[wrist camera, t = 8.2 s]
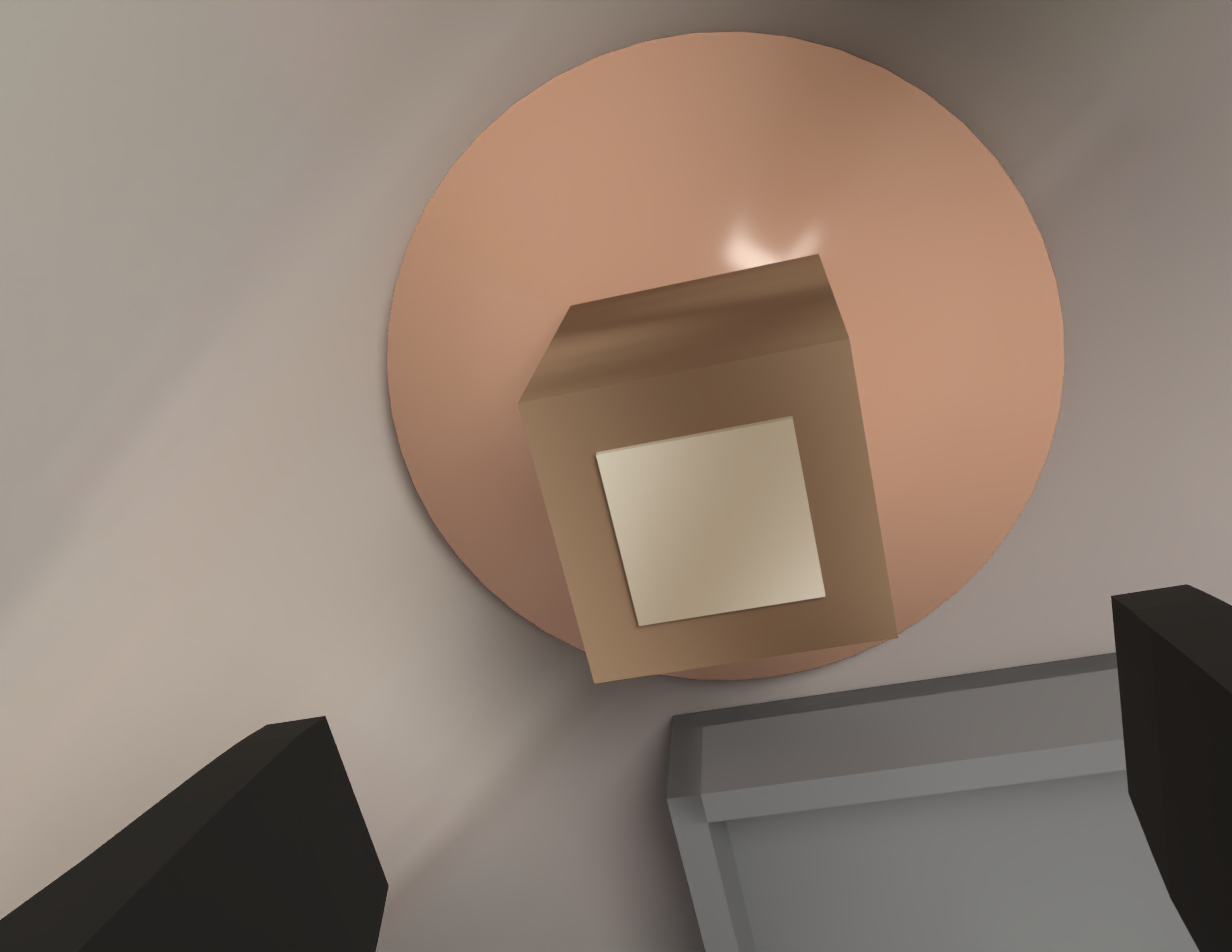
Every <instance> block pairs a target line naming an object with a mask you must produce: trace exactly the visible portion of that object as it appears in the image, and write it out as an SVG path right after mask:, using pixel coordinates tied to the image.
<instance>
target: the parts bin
mask: <svg viewBox="0 0 1232 952" xmlns="http://www.w3.org/2000/svg"><path fill="white" fill-rule="evenodd" d="M666 800H667V804H668V807H669V811H670V815H671V819H672V823H673V827H674V831H675V835H676V839H677V843H678V847H679V850H680V854H681V858H682V862H683V866H684V870H685V874H686V878H687V882H688V886H689V889H690V893H691V897H692V901H693V905H694V909H695V913H696V917H697V921H698V925H699V928H700V932H701V936H702V940H703V944H704V948H705V952H1200V951H1199V950H1198V948H1197V946H1196V944H1195V942H1194V941H1193V939H1192V937H1191V935H1190V933H1189V931H1188V930H1187V928H1186V926H1185V924H1184V922H1183V920H1182V919H1181V917H1180V915H1179V913H1178V911H1177V909H1176V908H1175V906H1174V904H1173V902H1172V900H1171V898H1170V896H1169V894H1168V891H1167V889H1166V886H1165V884H1164V881H1163V879H1162V877H1161V874H1160V872H1159V869H1158V867H1157V865H1156V862H1155V860H1154V857H1153V855H1152V852H1151V850H1150V847H1149V845H1148V842H1147V840H1146V837H1145V835H1144V832H1143V829H1142V827H1141V824H1140V822H1139V819H1138V817H1137V814H1136V812H1135V809H1134V806H1133V804H1132V801H1131V799H1130V796H1129V794H1128V783H1127V772H1126V760H1125V749H1124V737H1123V726H1122V714H1121V703H1120V691H1119V680H1118V668H1117V657H1116V653H1111V654H1104V655H1097V656H1090V657H1083V658H1076V659H1069V660H1062V661H1055V662H1048V663H1041V664H1034V665H1027V666H1019V667H1012V668H1005V669H998V670H991V671H984V672H977V673H970V674H963V675H956V676H949V677H942V678H935V679H928V680H921V681H914V682H907V683H900V684H893V685H886V686H879V687H872V688H865V689H858V690H851V691H844V692H837V693H830V694H823V695H816V696H809V697H802V698H795V699H788V700H781V701H774V702H767V703H760V704H753V705H746V706H739V707H732V708H725V709H718V710H711V711H704V712H697V713H690V714H683V715H676V716H673V722H672V734H671V747H670V759H669V771H668V784H667V796H666Z"/></svg>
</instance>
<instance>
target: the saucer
mask: <svg viewBox="0 0 1232 952" xmlns="http://www.w3.org/2000/svg"><path fill="white" fill-rule="evenodd" d="M815 254H819V256H820V259H821V262H822V264H823V267H824V270H825V273H826V275H827V278H828V281H829V284H830V286H831V289H832V292H833V295H834V297H835V300H836V303H837V306H838V308H839V311H840V314H841V317H842V319H843V322H844V325H845V328H846V330H847V333H848V336H849V339H850V345H851V351H852V357H853V363H854V370H855V376H856V382H857V388H858V394H859V400H860V406H861V413H862V419H863V425H864V431H865V437H866V443H867V449H868V456H869V462H870V468H871V474H872V480H873V486H874V492H875V499H876V505H877V511H878V517H879V523H880V529H881V535H882V542H883V548H884V554H885V560H886V566H887V572H888V578H889V585H890V591H891V597H892V603H893V609H894V615H895V621H896V628H897V634H899V633H900V632H902V631H904V630H905V629H907V628H909V627H910V626H912V625H914V624H915V623H917V622H918V621H920V620H922V619H923V618H925V617H926V616H927V615H929V614H930V613H931V612H932V611H934V610H935V609H936V608H937V607H939V606H940V605H941V604H943V603H944V602H945V601H946V600H948V599H949V598H950V597H951V596H953V595H954V594H955V593H956V592H957V591H958V590H959V589H960V588H961V587H962V586H963V585H964V584H965V583H966V582H967V581H968V580H969V579H970V578H971V577H972V576H973V575H974V574H975V573H976V572H977V571H978V570H979V569H980V568H981V567H982V566H983V565H984V564H985V563H986V562H987V561H988V559H989V558H990V557H991V555H992V554H993V553H994V551H995V550H996V549H997V548H998V546H999V545H1000V544H1001V542H1002V541H1003V540H1004V538H1005V537H1006V536H1007V535H1008V533H1009V532H1010V531H1011V529H1012V527H1013V526H1014V524H1015V522H1016V520H1017V519H1018V517H1019V515H1020V514H1021V512H1022V510H1023V508H1024V507H1025V505H1026V503H1027V501H1028V500H1029V498H1030V496H1031V495H1032V493H1033V490H1034V488H1035V485H1036V483H1037V481H1038V478H1039V476H1040V473H1041V471H1042V469H1043V466H1044V464H1045V461H1046V459H1047V456H1048V454H1049V450H1050V446H1051V443H1052V439H1053V435H1054V431H1055V427H1056V424H1057V420H1058V416H1059V412H1060V404H1061V395H1062V387H1063V379H1064V370H1065V365H1064V325H1063V318H1062V312H1061V306H1060V300H1059V294H1058V288H1057V282H1056V279H1055V276H1054V272H1053V269H1052V266H1051V263H1050V260H1049V257H1048V254H1047V250H1046V247H1045V244H1044V241H1043V238H1042V236H1041V234H1040V232H1039V230H1038V228H1037V226H1036V224H1035V222H1034V220H1033V218H1032V216H1031V213H1030V211H1029V209H1028V207H1027V205H1026V203H1025V201H1024V199H1023V197H1022V196H1021V194H1020V193H1019V191H1018V190H1017V188H1016V187H1015V185H1014V184H1013V182H1012V181H1011V180H1010V178H1009V177H1008V175H1007V174H1006V172H1005V171H1004V169H1003V168H1002V166H1001V165H1000V163H999V162H998V161H997V159H996V158H995V157H994V156H993V155H992V153H991V152H990V151H989V150H988V149H987V148H986V147H985V146H984V145H983V144H982V143H981V142H980V140H979V139H978V138H977V137H976V136H975V135H974V134H973V133H972V132H971V131H970V130H969V129H968V128H967V126H966V125H965V124H964V123H963V122H961V121H960V120H959V119H958V118H956V117H955V116H954V115H953V114H951V113H950V112H949V111H948V110H946V109H945V108H944V107H943V106H942V105H940V104H939V103H938V102H937V101H935V100H934V99H933V98H932V97H930V96H929V95H928V94H927V93H925V92H923V91H922V90H920V89H918V88H917V87H915V86H913V85H912V84H910V83H908V82H907V81H905V80H903V79H902V78H900V77H898V76H896V75H895V74H893V73H891V72H890V71H888V70H886V69H885V68H882V67H880V66H877V65H875V64H873V63H870V62H868V61H865V60H863V59H861V58H858V57H856V56H853V55H851V54H849V53H846V52H844V51H841V50H839V49H836V48H832V47H828V46H824V45H821V44H817V43H813V42H809V41H805V40H801V39H797V38H793V37H789V36H780V35H771V34H762V33H753V32H744V31H733V32H700V33H689V34H683V35H677V36H671V37H666V38H660V39H654V40H648V41H644V42H641V43H638V44H635V45H632V46H629V47H626V48H622V49H619V50H616V51H613V52H610V53H607V54H604V55H601V56H598V57H596V58H593V59H591V60H589V61H587V62H585V63H583V64H581V65H579V66H577V67H575V68H573V69H570V70H568V71H566V72H564V73H562V74H560V75H558V76H556V77H554V78H552V79H551V80H549V81H548V82H546V83H545V84H543V85H542V86H540V87H539V88H537V89H536V90H534V91H533V92H531V93H530V94H528V95H527V96H525V97H524V98H522V99H521V100H519V101H518V102H516V103H515V104H513V105H512V106H511V107H510V108H509V109H508V110H507V111H506V112H504V113H503V114H502V115H501V116H500V117H499V118H498V119H497V120H495V121H494V122H493V123H492V124H491V125H490V126H489V127H487V128H486V129H485V130H484V131H483V132H482V133H481V134H480V135H479V136H478V137H477V138H476V139H475V140H474V142H473V143H472V144H471V145H470V146H469V147H468V149H467V150H466V151H465V152H464V153H463V154H462V156H461V157H460V158H459V159H458V160H457V161H456V163H455V164H454V165H453V166H452V167H451V168H450V170H449V171H448V173H447V174H446V176H445V178H444V179H443V181H442V182H441V184H440V185H439V187H438V188H437V190H436V192H435V193H434V195H433V196H432V198H431V199H430V201H429V202H428V204H427V206H426V207H425V209H424V212H423V214H422V216H421V218H420V220H419V222H418V225H417V227H416V229H415V231H414V233H413V235H412V238H411V240H410V242H409V244H408V246H407V249H406V252H405V256H404V259H403V262H402V266H401V269H400V272H399V275H398V279H397V282H396V285H395V289H394V295H393V302H392V308H391V314H390V320H389V326H388V350H387V376H388V385H389V395H390V404H391V412H392V416H393V421H394V425H395V429H396V433H397V437H398V441H399V445H400V449H401V453H402V455H403V458H404V460H405V463H406V465H407V468H408V471H409V473H410V476H411V478H412V481H413V484H414V486H415V489H416V491H417V492H418V494H419V496H420V498H421V500H422V502H423V504H424V505H425V507H426V509H427V511H428V513H429V515H430V517H431V518H432V520H433V522H434V524H435V525H436V527H437V528H438V529H439V531H440V532H441V534H442V535H443V536H444V538H445V539H446V541H447V542H448V543H449V545H450V546H451V548H452V549H453V550H454V552H455V553H456V555H457V556H458V557H459V558H460V559H461V560H462V561H463V563H464V564H465V565H466V566H467V567H468V568H469V569H470V570H471V571H472V572H473V573H474V575H475V576H476V577H477V578H478V579H479V580H480V581H481V582H482V583H483V584H484V585H485V586H486V587H487V588H488V589H489V590H490V591H492V592H493V593H494V594H495V595H496V596H497V597H499V598H500V599H501V600H502V601H503V602H504V603H506V604H507V605H508V606H509V607H510V608H511V609H513V610H514V611H515V612H517V613H518V614H520V615H521V616H523V617H524V618H526V619H527V620H529V621H530V622H532V623H533V624H535V625H536V626H538V627H539V628H541V629H542V630H544V631H545V632H547V633H549V634H550V635H552V636H554V637H556V638H558V639H560V640H562V641H564V642H566V643H568V644H570V645H572V646H574V647H576V648H578V649H580V650H582V651H584V652H585V648H584V645H583V641H582V637H581V634H580V630H579V626H578V623H577V619H576V615H575V612H574V608H573V604H572V601H571V597H570V594H569V590H568V586H567V583H566V579H565V575H564V572H563V568H562V564H561V561H560V557H559V553H558V550H557V546H556V542H555V539H554V535H553V531H552V528H551V524H550V520H549V517H548V513H547V509H546V506H545V502H544V498H543V495H542V491H541V488H540V484H539V480H538V477H537V473H536V469H535V466H534V462H533V458H532V455H531V451H530V447H529V444H528V440H527V436H526V433H525V429H524V425H523V422H522V418H521V414H520V411H519V407H518V402H519V400H520V398H521V396H522V394H523V392H524V390H525V389H526V387H527V385H528V383H529V381H530V379H531V378H532V376H533V374H534V372H535V370H536V368H537V367H538V365H539V363H540V361H541V359H542V357H543V355H544V354H545V352H546V350H547V348H548V346H549V344H550V343H551V341H552V339H553V337H554V335H555V333H556V332H557V330H558V328H559V326H560V324H561V322H562V320H563V319H564V317H565V315H566V313H567V311H568V309H569V308H570V306H571V305H576V304H581V303H585V302H590V301H595V300H600V299H605V298H609V297H614V296H619V295H624V294H629V293H633V292H638V291H643V290H648V289H653V288H657V287H662V286H667V285H672V284H676V283H681V282H686V281H691V280H696V279H700V278H705V277H710V276H715V275H720V274H724V273H729V272H734V271H739V270H743V269H748V268H753V267H758V266H763V265H767V264H772V263H777V262H782V261H787V260H791V259H796V258H801V257H806V256H811V255H815ZM888 640H889V639H888ZM885 641H887V640H881V641H874V642H868V643H861V644H854V645H848V646H841V647H834V648H828V649H821V650H815V651H808V652H801V653H795V654H788V655H781V656H775V657H768V658H761V659H755V660H748V661H742V662H735V663H728V664H722V665H715V666H708V667H702V668H695V669H689V670H682V671H675V672H669V673H662V674H660V675H667V676H675V677H682V678H689V679H702V680H744V679H755V678H766V677H776V676H781V675H786V674H791V673H796V672H801V671H805V670H810V669H815V668H818V667H821V666H824V665H827V664H830V663H833V662H836V661H839V660H842V659H846V658H849V657H852V656H854V655H856V654H858V653H861V652H863V651H865V650H867V649H869V648H871V647H874V646H876V645H878V644H880V643H882V642H885Z"/></svg>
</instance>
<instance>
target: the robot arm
mask: <svg viewBox="0 0 1232 952" xmlns="http://www.w3.org/2000/svg"><path fill="white" fill-rule="evenodd" d="M1111 599H1112V611H1113V622H1114V634H1115V645H1116V657H1117V668H1118V680H1119V691H1120V703H1121V714H1122V726H1123V737H1124V749H1125V760H1126V772H1127V783H1128V794H1129V796H1130V799H1131V801H1132V804H1133V806H1134V809H1135V812H1136V814H1137V817H1138V819H1139V822H1140V824H1141V827H1142V829H1143V832H1144V835H1145V837H1146V840H1147V842H1148V845H1149V847H1150V850H1151V852H1152V855H1153V857H1154V860H1155V862H1156V865H1157V867H1158V869H1159V872H1160V874H1161V877H1162V879H1163V881H1164V884H1165V886H1166V889H1167V891H1168V894H1169V896H1170V898H1171V900H1172V902H1173V904H1174V906H1175V908H1176V909H1177V911H1178V913H1179V915H1180V917H1181V919H1182V920H1183V922H1184V924H1185V926H1186V928H1187V930H1188V931H1189V933H1190V935H1191V937H1192V939H1193V941H1194V942H1195V944H1196V946H1197V948H1198V950H1199V951H1200V952H1232V606H1231V605H1229V604H1227V603H1225V602H1223V601H1222V600H1220V599H1218V598H1216V597H1213V596H1211V595H1209V594H1207V593H1205V592H1203V591H1201V590H1199V589H1196V588H1194V587H1192V586H1190V585H1180V586H1174V587H1167V588H1160V589H1154V590H1147V591H1141V592H1134V593H1128V594H1121V595H1115V596H1111ZM387 891H388V883H387V880H386V878H385V875H384V872H383V870H382V867H381V864H380V862H379V859H378V856H377V853H376V851H375V848H374V845H373V843H372V840H371V837H370V835H369V832H368V829H367V827H366V824H365V821H364V819H363V816H362V813H361V811H360V808H359V805H358V803H357V800H356V797H355V794H354V792H353V789H352V786H351V784H350V781H349V778H348V776H347V773H346V770H345V768H344V765H343V762H342V760H341V757H340V754H339V752H338V749H337V746H336V744H335V741H334V738H333V735H332V733H331V730H330V727H329V725H328V722H327V719H326V717H325V716H322V717H315V718H309V719H302V720H296V721H289V722H283V723H276V724H270V725H266V726H264V727H263V728H261V729H259V730H258V731H256V732H254V733H253V734H251V735H249V736H248V737H246V738H245V739H243V740H242V741H240V742H239V743H237V744H236V745H234V746H233V747H231V748H230V749H228V750H227V751H226V752H224V753H223V754H221V755H220V756H219V757H217V758H216V759H215V760H213V761H212V762H210V763H209V764H208V765H206V766H205V767H204V768H202V769H201V770H200V771H198V772H197V773H196V774H194V775H193V776H192V777H190V778H189V779H188V780H186V781H185V782H184V783H183V784H181V785H180V786H179V787H177V788H176V789H175V790H173V791H172V792H171V793H170V794H168V795H167V796H166V797H164V798H163V799H162V800H160V801H159V802H158V803H157V804H155V805H154V806H153V807H151V808H150V809H149V810H147V811H146V812H145V813H144V814H142V815H141V816H140V817H138V818H137V819H136V820H134V821H133V822H132V823H131V824H129V825H128V826H127V827H125V828H124V829H123V830H121V831H120V832H119V833H118V834H116V835H115V836H114V837H112V838H111V839H110V840H108V841H107V842H106V843H105V844H103V845H102V846H101V847H99V848H98V849H97V850H95V851H94V852H93V853H92V854H90V855H89V856H88V857H86V858H85V859H84V860H82V861H81V862H80V863H78V864H77V865H76V866H74V867H73V868H71V869H70V870H69V871H67V872H66V873H64V874H63V875H62V876H60V877H59V878H58V879H56V880H55V881H53V882H52V883H51V884H49V885H48V886H47V887H45V888H44V889H42V890H41V891H40V892H38V893H37V894H36V895H34V896H33V897H31V898H30V899H29V900H27V901H26V902H25V903H23V904H22V905H20V906H19V907H18V908H16V909H15V910H13V911H12V912H11V913H9V914H8V915H7V916H5V917H4V918H2V919H1V920H0V952H375V951H376V946H377V942H378V937H379V932H380V927H381V922H382V917H383V912H384V906H385V901H386V896H387Z"/></svg>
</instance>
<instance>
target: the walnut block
mask: <svg viewBox="0 0 1232 952" xmlns="http://www.w3.org/2000/svg"><path fill="white" fill-rule="evenodd" d="M518 407H519V411H520V414H521V418H522V422H523V425H524V429H525V433H526V436H527V440H528V444H529V447H530V451H531V455H532V458H533V462H534V466H535V469H536V473H537V477H538V480H539V484H540V488H541V491H542V495H543V498H544V502H545V506H546V509H547V513H548V517H549V520H550V524H551V528H552V531H553V535H554V539H555V542H556V546H557V550H558V553H559V557H560V561H561V564H562V568H563V572H564V575H565V579H566V583H567V586H568V590H569V594H570V597H571V601H572V604H573V608H574V612H575V615H576V619H577V623H578V626H579V630H580V634H581V637H582V641H583V645H584V648H585V652H586V656H587V659H588V663H589V667H590V670H591V674H592V678H593V681H594V684H596V683H602V682H609V681H616V680H622V679H629V678H635V677H642V676H649V675H655V674H662V673H669V672H675V671H682V670H689V669H695V668H702V667H708V666H715V665H722V664H728V663H735V662H742V661H748V660H755V659H761V658H768V657H775V656H781V655H788V654H795V653H801V652H808V651H815V650H821V649H828V648H834V647H841V646H848V645H854V644H861V643H868V642H874V641H881V640H888V639H894V638H898V634H897V628H896V621H895V615H894V609H893V603H892V597H891V591H890V585H889V578H888V572H887V566H886V560H885V554H884V548H883V542H882V535H881V529H880V523H879V517H878V511H877V505H876V499H875V492H874V486H873V480H872V474H871V468H870V462H869V456H868V449H867V443H866V437H865V431H864V425H863V419H862V413H861V406H860V400H859V394H858V388H857V382H856V376H855V370H854V363H853V357H852V351H851V345H850V339H849V336H848V333H847V330H846V328H845V325H844V322H843V319H842V317H841V314H840V311H839V308H838V306H837V303H836V300H835V297H834V295H833V292H832V289H831V286H830V284H829V281H828V278H827V275H826V273H825V270H824V267H823V264H822V262H821V259H820V256H819V254H815V255H811V256H806V257H801V258H796V259H791V260H787V261H782V262H777V263H772V264H767V265H763V266H758V267H753V268H748V269H743V270H739V271H734V272H729V273H724V274H720V275H715V276H710V277H705V278H700V279H696V280H691V281H686V282H681V283H676V284H672V285H667V286H662V287H657V288H653V289H648V290H643V291H638V292H633V293H629V294H624V295H619V296H614V297H609V298H605V299H600V300H595V301H590V302H585V303H581V304H576V305H571V306H570V308H569V309H568V311H567V313H566V315H565V317H564V319H563V320H562V322H561V324H560V326H559V328H558V330H557V332H556V333H555V335H554V337H553V339H552V341H551V343H550V344H549V346H548V348H547V350H546V352H545V354H544V355H543V357H542V359H541V361H540V363H539V365H538V367H537V368H536V370H535V372H534V374H533V376H532V378H531V379H530V381H529V383H528V385H527V387H526V389H525V390H524V392H523V394H522V396H521V398H520V400H519V402H518Z"/></svg>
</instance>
